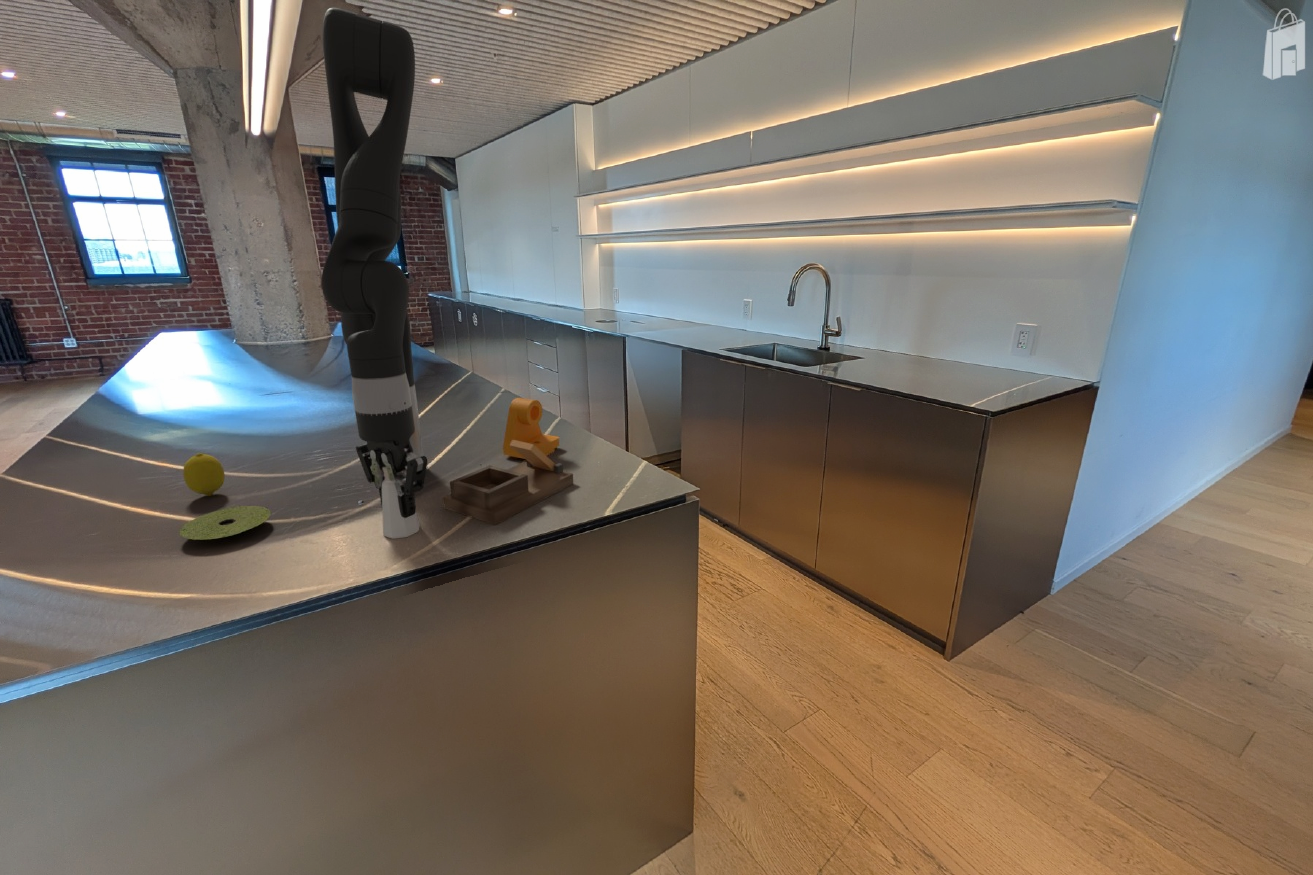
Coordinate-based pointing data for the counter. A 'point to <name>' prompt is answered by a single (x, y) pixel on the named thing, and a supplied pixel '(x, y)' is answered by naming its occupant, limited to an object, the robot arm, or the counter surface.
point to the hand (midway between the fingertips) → (399, 511)
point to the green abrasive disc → (225, 522)
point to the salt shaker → (395, 512)
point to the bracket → (527, 427)
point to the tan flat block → (533, 455)
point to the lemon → (203, 474)
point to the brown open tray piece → (504, 490)
